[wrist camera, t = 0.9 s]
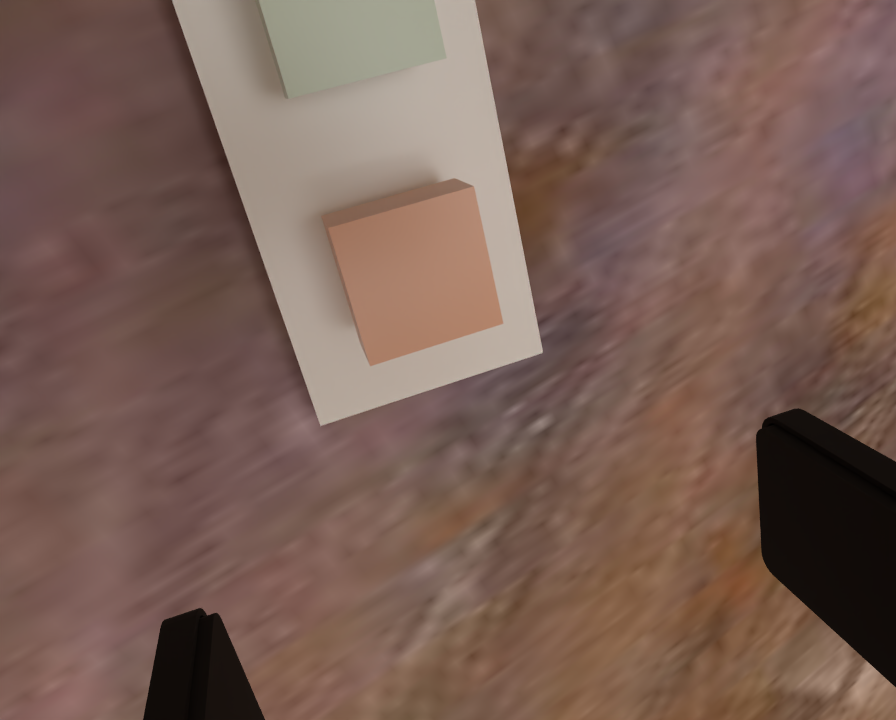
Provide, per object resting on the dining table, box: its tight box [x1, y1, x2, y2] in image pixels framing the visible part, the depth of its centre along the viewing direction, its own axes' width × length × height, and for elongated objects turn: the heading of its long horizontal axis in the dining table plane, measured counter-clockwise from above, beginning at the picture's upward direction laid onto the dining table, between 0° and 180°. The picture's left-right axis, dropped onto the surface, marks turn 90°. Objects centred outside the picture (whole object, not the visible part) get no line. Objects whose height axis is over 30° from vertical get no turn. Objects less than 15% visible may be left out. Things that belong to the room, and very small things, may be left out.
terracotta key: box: [321, 178, 503, 366], centre depth 25 cm, size 5×5×2 cm
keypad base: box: [172, 0, 543, 426], centre depth 25 cm, size 30×10×2 cm, turn 13°
